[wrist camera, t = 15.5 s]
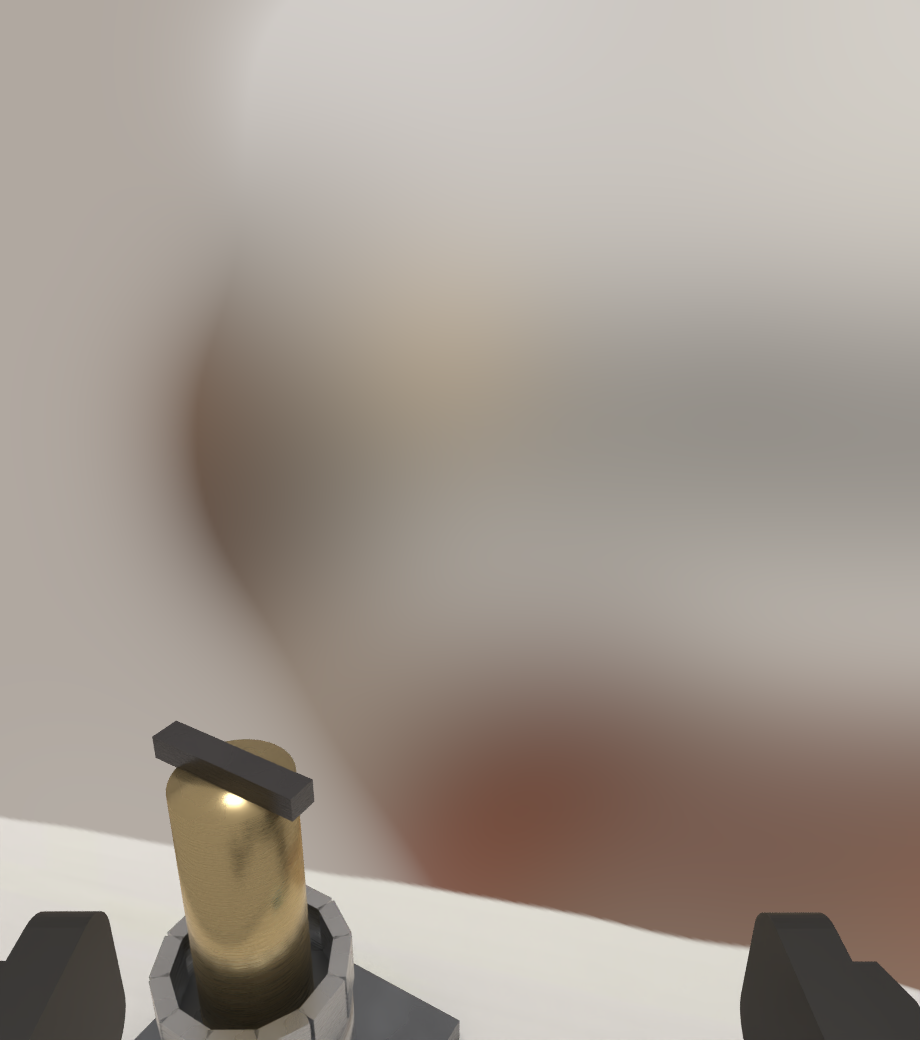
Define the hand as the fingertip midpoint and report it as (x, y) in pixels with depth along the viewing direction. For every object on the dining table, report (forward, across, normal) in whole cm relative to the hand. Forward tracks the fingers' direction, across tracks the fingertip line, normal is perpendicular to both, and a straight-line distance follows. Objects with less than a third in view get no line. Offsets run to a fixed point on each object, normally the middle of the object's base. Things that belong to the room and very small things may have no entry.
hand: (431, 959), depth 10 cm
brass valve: (+18, +8, +24) cm, 31 cm away
